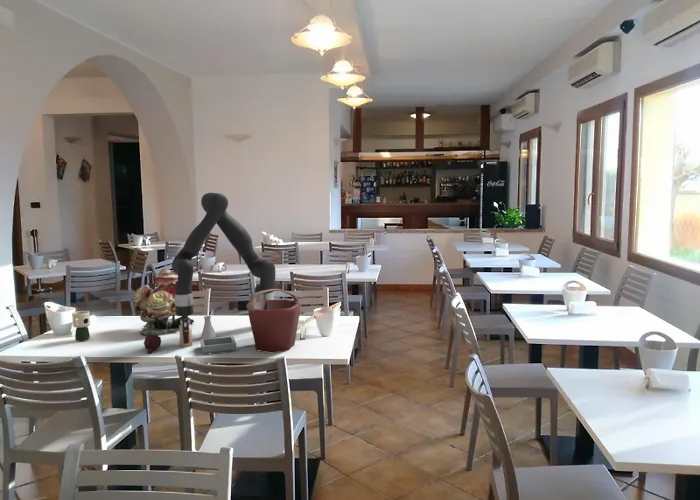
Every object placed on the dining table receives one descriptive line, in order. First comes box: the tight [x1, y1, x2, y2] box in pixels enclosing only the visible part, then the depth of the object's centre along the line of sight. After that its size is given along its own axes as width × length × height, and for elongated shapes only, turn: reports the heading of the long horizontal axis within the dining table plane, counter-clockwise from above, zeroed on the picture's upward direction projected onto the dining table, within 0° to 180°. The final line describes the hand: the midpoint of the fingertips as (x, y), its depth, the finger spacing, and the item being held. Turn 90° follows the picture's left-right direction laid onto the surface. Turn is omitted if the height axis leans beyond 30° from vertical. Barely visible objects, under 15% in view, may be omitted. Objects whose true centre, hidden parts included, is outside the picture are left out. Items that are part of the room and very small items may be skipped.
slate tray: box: [200, 335, 237, 355], centre depth 245 cm, size 14×12×4 cm
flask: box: [200, 315, 217, 340], centre depth 262 cm, size 7×7×10 cm
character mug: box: [71, 310, 91, 342], centre depth 261 cm, size 11×7×13 cm, turn 0°
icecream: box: [143, 334, 162, 355], centre depth 246 cm, size 7×7×15 cm
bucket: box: [245, 288, 301, 353], centre depth 246 cm, size 24×22×25 cm
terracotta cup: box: [178, 323, 193, 348], centre depth 251 cm, size 5×5×9 cm
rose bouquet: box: [130, 268, 195, 337], centre depth 277 cm, size 26×29×30 cm
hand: (186, 341), depth 251 cm, fingers closed on terracotta cup, 5 cm apart
